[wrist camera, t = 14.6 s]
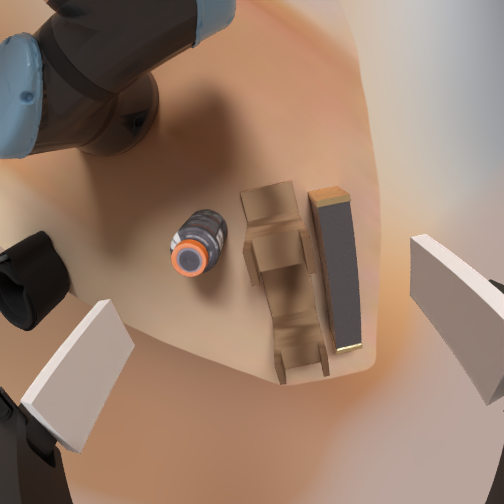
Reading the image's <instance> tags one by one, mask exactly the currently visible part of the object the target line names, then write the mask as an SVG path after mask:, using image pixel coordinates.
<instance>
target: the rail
mask: <svg viewBox="0 0 504 504" xmlns="http://www.w3.org/2000/svg"><path fill="white" fill-rule="evenodd" d="M308 195H309V198H310V201H311V207H312V212H313V217H314V223H315V228H316V234H317V240H318V246H319V252H320V258H321V265H322V271H323V278H324V285H325V292H326V299H327V307H328V315H329V324H330V327H329V329H330V333H331V337H332V340H333V343H334V347H335V350H336V354H341V353H345V352H349V351H353V350H357V349H361V348H362V343H361V313H360V295H359V280H358V268H357V257H356V247H355V238H354V230H353V222H352V215H351V208H350V201H351V199H350V194H348V193H347V192H345V191H344V190H342V189H341V188H339V187H338V186H335V187H329V188H324V189H319V190H314V191H309V192H308Z"/></svg>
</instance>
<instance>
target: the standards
mask: <svg viewBox="0 0 504 504" xmlns="http://www.w3.org/2000/svg"><path fill="white" fill-rule="evenodd" d="M240 194H241V198H242V202H243V206H244V209H245V213H246V217H247V221H248V226H247V231H246V236H245V241H244V247H243V255H244V258H245V262H246V265H247V269H248V273H249V276H250V280H251V283H252V286H255V285H260V272H261V275H262V279H263V282H264V286H265V290H266V294H267V298H268V302H269V306H270V310H271V313H272V317H273V328H274V356H275V368H276V371H277V375H278V378H279V382H280V385H282V384H286V374H285V369H287V368H293V367H298V366H303V365H309V364H314V363H318V362H321V365H322V370H323V375H324V377H325V376H330V374H329V364H328V355H327V351H326V347H325V343H324V340H323V336H322V332H321V328H320V324H319V321H318V317H317V312H316V306H315V300H314V293H313V287H312V281H311V276H310V274H313V273H316V270H315V264H314V258H313V252H312V246H311V241H310V236H309V234H308V232H307V230H306V228H305V225H304V223H303V221H302V219H301V217H300V215H299V212H298V207H297V202H296V198H295V193H294V188H293V184H292V181H287V182H282V183H278V184H273V185H269V186H264V187H260V188H256V189H251V190H247V191H243V192H241V193H240Z"/></svg>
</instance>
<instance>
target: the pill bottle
mask: <svg viewBox="0 0 504 504" xmlns="http://www.w3.org/2000/svg"><path fill="white" fill-rule="evenodd" d="M226 236H227V225H226V222H225V220H224V219H223V217H222V216H221V215H220V214H218V213H217V212H215V211H212V210H208V209H207V210H200V211H197V212H195V213H194V214H193V215H192V216H191V217H190V218H189V219H188V220H187V221H186V222H185V223H184V225H183V226H182V227H181V228H180V229H179V230H178V232H177V233H176V234H175V235H174V237H173V239H172V241H171V246H170V251H171V261H172V265H173V267H174V268H175V270H176V271H177V272H178V273H180V274H182V275H184V276H187V277H194V276H197V275H199V274H201V273H205V272H207V271H209V270H210V269H211V268H213V267H214V265H215V264H216V263H217V260H218V258H219V255H220V253H221V250H222V247H223V244H224V242H225V239H226Z"/></svg>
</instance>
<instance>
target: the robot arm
mask: <svg viewBox="0 0 504 504" xmlns="http://www.w3.org/2000/svg"><path fill="white" fill-rule="evenodd" d="M44 1H45V2H46V4H48V5H49V6H50V7H51V8H52V9H53V10H54V11H55V12H56V13H54V14H53V15H52V16H51V17H50V18H49V19H48V20H47V21H46V22H45V23H44V24H43V25H42V26H41V27H40V28H39V29H38V31H36V32H35V33H34V34H33V35H31V34H29V33H24V32H23V33H21V34H15V35H14V36H10V37H8V38H6V39H5V40H4V41H3V42H2V43H1V44H0V159H12V158H17V159H21V158H25V157H27V156H28V155H33V154H39V153H44V152H50V151H56V150H62V149H69V148H77V149H79V150H82V151H84V152H85V153H87V154H90V155H94V156H111V155H117V154H120V153H123V152H125V151H127V150H129V149H131V148H132V147H134V146H135V145H136V144H137V143H138V142H139V141H140V140H141V139H142V138H143V137H144V136H145V135H146V133H147V132H148V130H149V129H150V127H151V125H152V123H153V121H154V118H155V116H156V112H157V108H158V88H157V84H156V81H155V79H154V77H153V75H152V74H151V71H152V70H154V69H155V68H157V67H159V66H160V65H162V64H163V63H165V62H167V61H168V60H170V59H172V58H173V57H175V56H177V55H178V54H180V53H182V52H184V51H186V50H187V49H189V48H194V47H196V46H198V45H199V43H200V42H201V41H203V40H204V39H206V38H208V37H210V36H212V35H213V34H215V33H217V32H219V31H221V30H223V29H225V28H226V27H227V26H228V25H229V24H230V23H231V22H232V20H233V18H234V16H235V10H236V0H44ZM410 247H411V277H410V278H411V279H410V296H411V297H412V299H413V300H414V301H415V302H416V304H417V305H418V306H419V307H420V309H421V310H422V311H423V313H424V314H425V315H426V316H427V318H428V319H429V320H430V322H431V323H432V324H433V325H434V327H435V328H436V330H437V331H438V332H439V334H440V335H441V337H442V338H443V339H444V341H445V342H446V344H447V345H448V346H449V348H450V349H451V351H452V352H453V354H454V355H455V356H456V358H457V359H458V361H459V362H460V364H461V365H462V367H463V368H464V370H465V371H466V373H467V374H468V376H469V378H470V379H471V381H472V382H473V384H474V385H475V387H476V388H477V390H478V392H479V394H480V395H481V397H482V399H483V400H484V402H485V404H486V405H487V406H488V405H489V404H491V403H492V402H494V401H496V400H498V399H499V398H501V397H503V396H504V285H502V284H500V283H498V282H495V281H493V280H486V279H485V278H484V277H483V276H481V275H480V274H479V273H478V272H477V271H475V270H474V269H473V268H471V267H470V266H469V265H468V264H466V263H465V262H464V261H462V260H461V259H460V258H459V257H457V256H456V255H454V254H453V253H452V252H450V251H449V250H448V249H446V248H445V247H444V246H442V245H441V244H440V243H438V242H436V241H435V240H434V239H432V238H431V237H430V236H428V235H427V234H422V235H418V236H414V237H410ZM134 347H135V345H134V343H133V341H132V339H131V338H130V336H129V334H128V332H127V330H126V328H125V326H124V324H123V323H122V321H121V319H120V317H119V315H118V313H117V311H116V309H115V307H114V305H113V303H112V301H111V299H108V300H102V301H98V302H97V304H96V305H95V306H94V307H93V308H92V309H91V311H90V312H89V313H88V314H87V315H86V316H85V318H84V319H83V320H82V321H81V322H80V323H79V324H78V326H77V327H76V328H75V329H74V330H73V332H72V333H71V334H70V335H69V337H68V338H67V339H66V340H65V341H64V343H63V344H62V345H61V346H60V348H59V349H58V350H57V352H56V353H55V354H54V355H53V357H52V358H51V359H50V360H49V362H48V363H47V364H46V366H45V367H44V368H43V370H42V371H41V372H40V374H39V375H38V376H37V378H36V379H35V380H34V382H33V383H32V385H31V386H30V387H29V389H28V390H27V391H26V393H25V395H24V396H23V397H22V399H21V400H20V402H21V404H20V405H19V406H17V405H16V404H15V403H14V402H13V400H12V399H11V398H10V397H9V395H8V394H7V393H6V392H5V390H4V389H3V388H2V387H0V504H73V502H72V499H71V496H70V492H69V488H68V484H67V481H66V477H65V472H64V468H63V464H62V458H61V453H60V450H59V449H58V448H57V447H56V446H55V444H56V442H57V441H58V442H59V443H60V444H61V445H63V446H64V447H65V448H66V449H67V450H69V451H72V452H76V453H79V454H81V451H82V449H83V447H84V445H85V443H86V441H87V438H88V436H89V434H90V432H91V430H92V428H93V426H94V424H95V422H96V420H97V417H98V416H99V413H100V412H101V410H102V408H103V405H104V404H105V401H106V400H107V397H108V395H109V394H110V392H111V390H112V388H113V386H114V384H115V382H116V380H117V378H118V376H119V374H120V373H121V371H122V369H123V367H124V365H125V363H126V361H127V359H128V357H129V356H130V354H131V352H132V350H133V349H134ZM485 504H504V447H503V450H502V455H501V458H500V462H499V465H498V468H497V472H496V475H495V478H494V481H493V484H492V487H491V490H490V492H489V495H488V498H487V501H486V503H485Z"/></svg>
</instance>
